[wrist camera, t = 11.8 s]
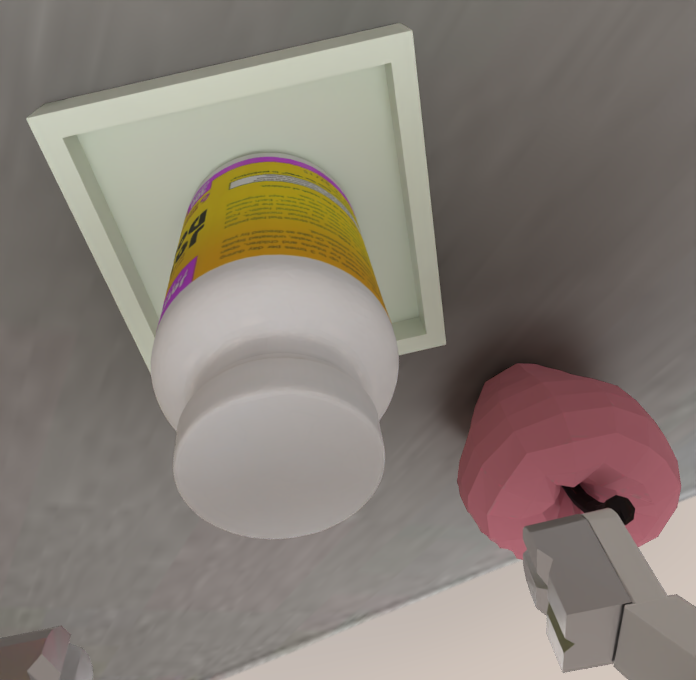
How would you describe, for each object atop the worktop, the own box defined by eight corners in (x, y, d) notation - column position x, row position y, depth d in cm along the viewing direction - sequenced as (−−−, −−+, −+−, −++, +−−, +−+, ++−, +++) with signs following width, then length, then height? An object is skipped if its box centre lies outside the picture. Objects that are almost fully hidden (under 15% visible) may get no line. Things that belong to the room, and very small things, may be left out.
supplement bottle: (191, 131, 21) (124, 328, 10) (371, 163, 22) (471, 364, 12) (180, 294, 24) (122, 563, 14) (336, 312, 26) (389, 568, 15)
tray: (399, 22, 20) (412, 30, 19) (434, 320, 28) (446, 344, 26) (44, 103, 20) (26, 118, 19) (172, 380, 28) (167, 408, 26)
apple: (400, 387, 30) (456, 558, 21) (548, 283, 27) (674, 431, 19) (494, 477, 35) (569, 645, 26) (627, 396, 32) (755, 553, 24)
